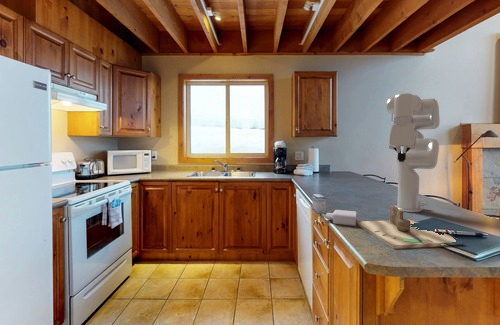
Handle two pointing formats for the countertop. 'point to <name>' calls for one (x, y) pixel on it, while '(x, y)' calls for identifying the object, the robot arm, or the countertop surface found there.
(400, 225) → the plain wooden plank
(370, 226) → the board
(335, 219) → the charger
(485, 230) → the countertop surface
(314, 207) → the medicine box
